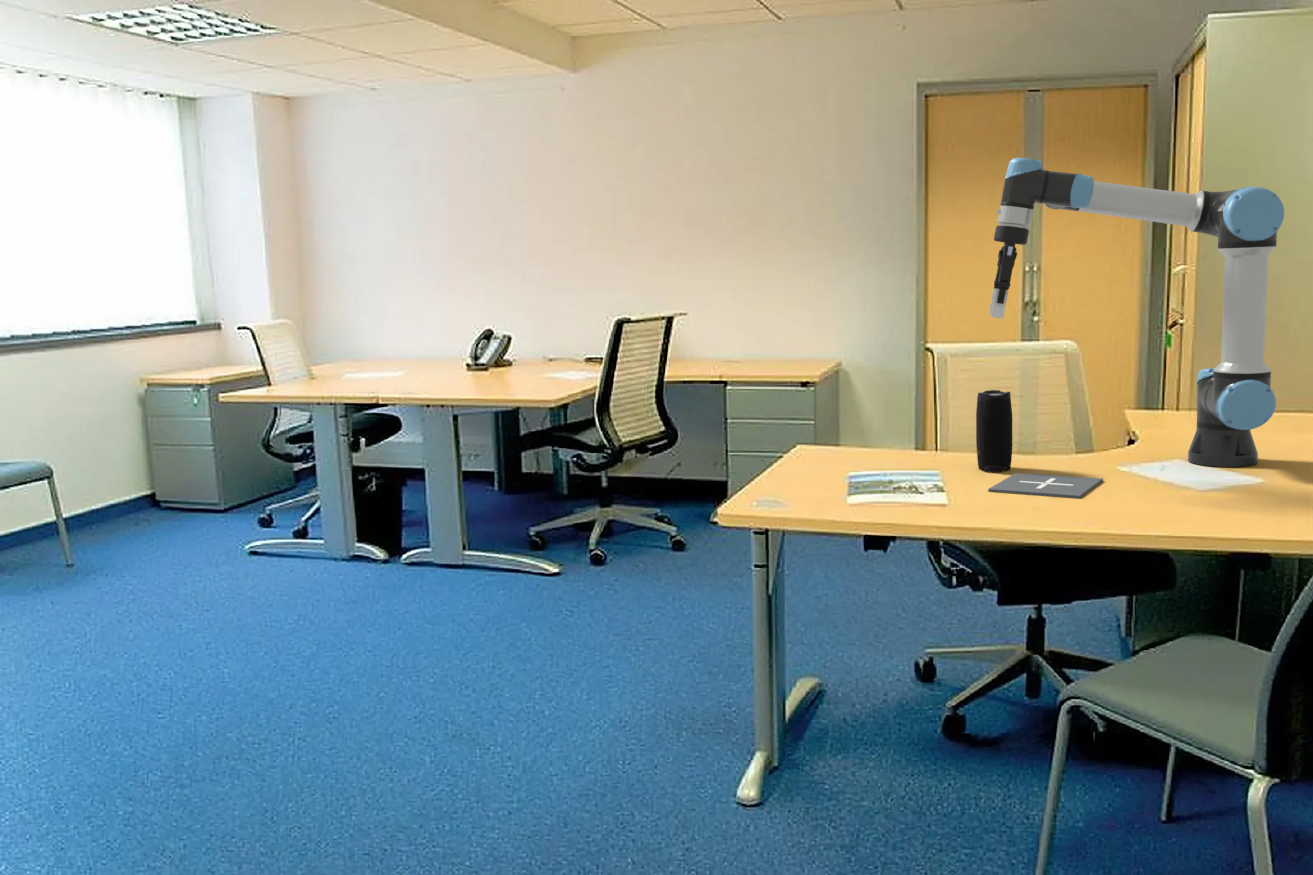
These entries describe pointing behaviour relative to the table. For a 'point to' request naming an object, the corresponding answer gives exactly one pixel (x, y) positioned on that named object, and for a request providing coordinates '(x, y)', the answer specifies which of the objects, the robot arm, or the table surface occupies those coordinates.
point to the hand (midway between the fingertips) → (995, 316)
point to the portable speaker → (994, 430)
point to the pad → (1046, 485)
